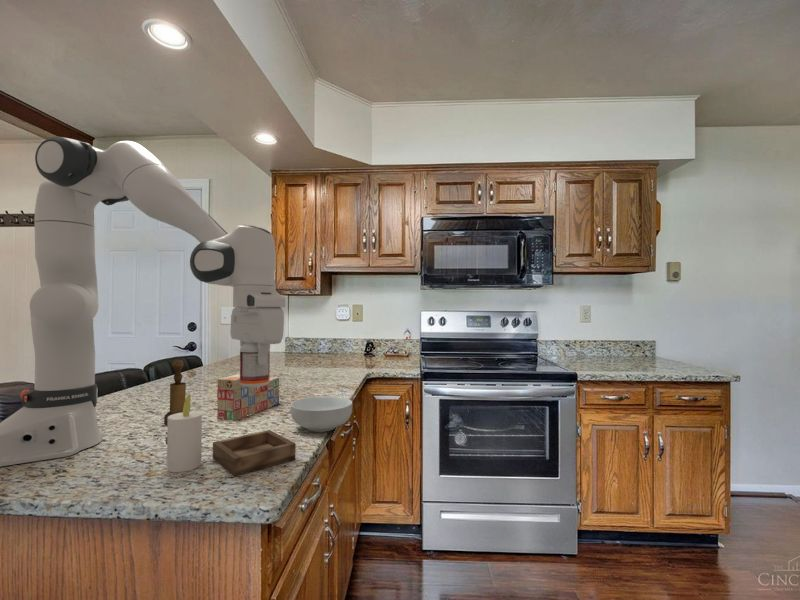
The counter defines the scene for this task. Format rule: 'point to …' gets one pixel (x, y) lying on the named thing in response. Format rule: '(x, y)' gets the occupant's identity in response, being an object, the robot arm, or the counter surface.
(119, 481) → the counter surface
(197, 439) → the candle
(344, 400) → the cereal bowl
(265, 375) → the pill bottle
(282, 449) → the tray
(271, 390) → the stack of blocks
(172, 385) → the brown knobbed cylinder
